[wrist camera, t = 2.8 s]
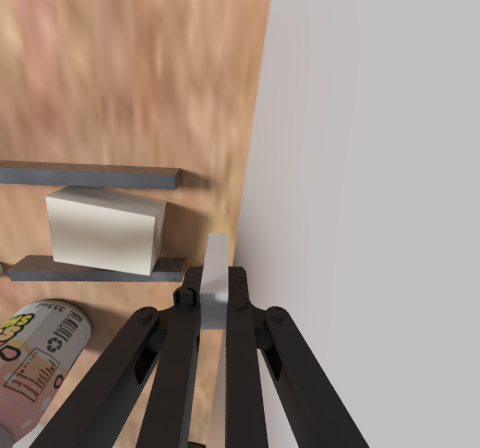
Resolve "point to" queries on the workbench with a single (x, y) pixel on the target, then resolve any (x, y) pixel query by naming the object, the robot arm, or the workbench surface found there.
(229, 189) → the workbench surface
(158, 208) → the block
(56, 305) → the beverage can
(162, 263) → the chute
